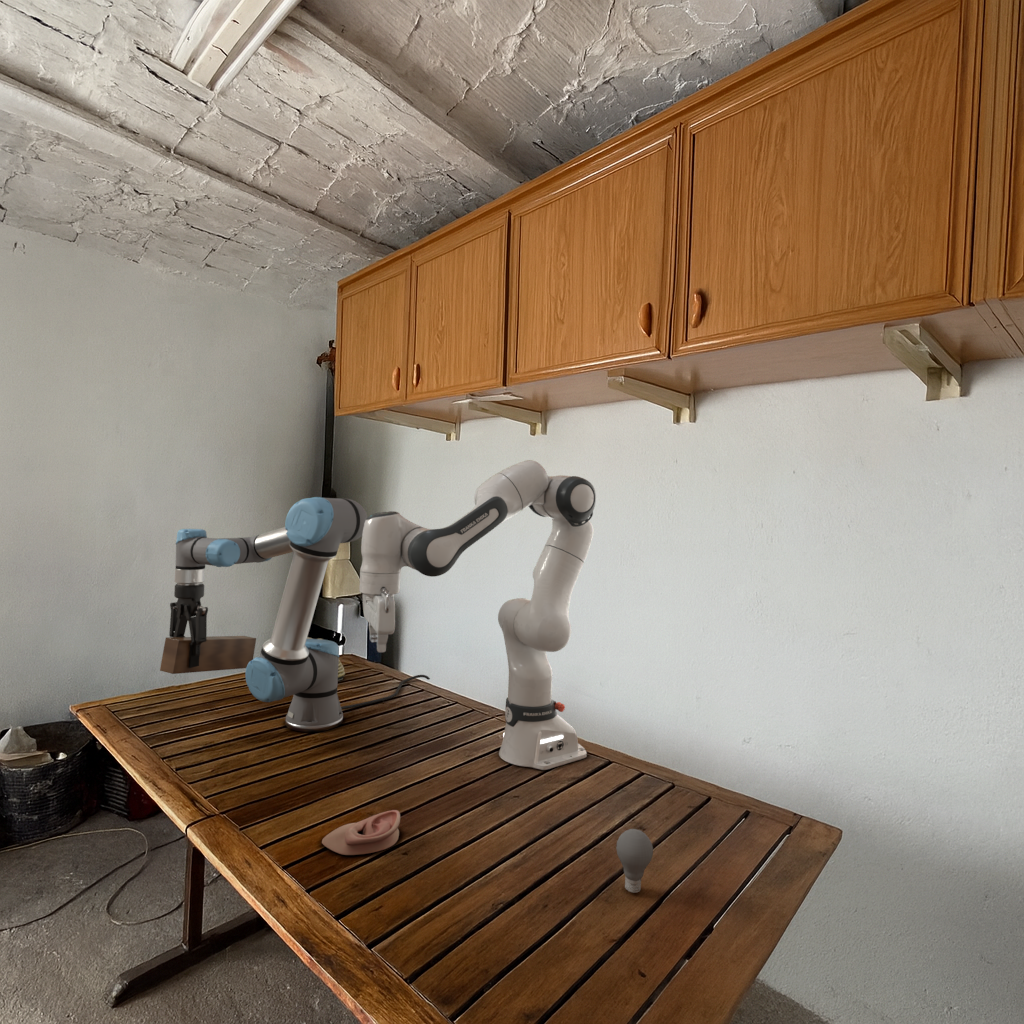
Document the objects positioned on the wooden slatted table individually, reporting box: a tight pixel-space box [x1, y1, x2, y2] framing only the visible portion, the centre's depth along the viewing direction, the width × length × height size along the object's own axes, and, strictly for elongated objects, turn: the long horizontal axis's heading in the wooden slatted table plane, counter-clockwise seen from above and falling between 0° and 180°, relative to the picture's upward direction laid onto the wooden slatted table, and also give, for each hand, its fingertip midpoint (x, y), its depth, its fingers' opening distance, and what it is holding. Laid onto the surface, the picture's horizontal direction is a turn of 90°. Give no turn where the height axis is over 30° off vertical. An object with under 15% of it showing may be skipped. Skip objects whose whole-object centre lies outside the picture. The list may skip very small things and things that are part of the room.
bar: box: [159, 635, 257, 675], centre depth 187 cm, size 27×6×9 cm, turn 154°
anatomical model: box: [321, 809, 401, 856], centre depth 118 cm, size 13×4×12 cm
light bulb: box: [615, 828, 654, 894], centre depth 106 cm, size 6×6×10 cm
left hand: (186, 664), depth 180 cm, fingers closed on bar, 6 cm apart
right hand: (377, 646), depth 141 cm, fingers open, 8 cm apart
